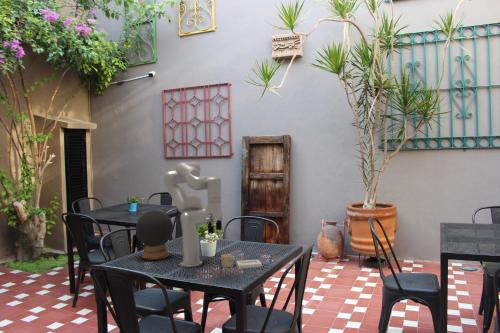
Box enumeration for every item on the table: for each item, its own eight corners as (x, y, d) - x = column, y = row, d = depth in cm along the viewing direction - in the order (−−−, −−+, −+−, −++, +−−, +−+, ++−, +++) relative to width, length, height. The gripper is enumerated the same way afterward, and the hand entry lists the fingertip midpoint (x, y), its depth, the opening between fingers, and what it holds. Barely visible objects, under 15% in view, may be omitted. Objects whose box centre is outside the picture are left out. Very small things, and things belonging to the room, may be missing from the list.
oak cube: (221, 264, 259) (221, 254, 259) (231, 264, 260) (231, 254, 260) (222, 267, 253) (222, 257, 253) (233, 266, 255) (232, 256, 254)
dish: (236, 264, 259) (236, 261, 259) (258, 262, 262) (257, 259, 261) (239, 268, 249) (239, 265, 249) (261, 267, 252) (261, 263, 252)
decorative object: (158, 263, 267) (156, 213, 265) (128, 259, 277) (127, 212, 276) (181, 254, 287) (179, 208, 286) (153, 251, 298) (151, 207, 297)
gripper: (215, 197, 249) (215, 228, 250) (200, 201, 233) (201, 234, 234) (227, 198, 246) (227, 228, 247) (213, 202, 230) (214, 235, 231)
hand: (214, 231), depth 240 cm, fingers open, 9 cm apart
